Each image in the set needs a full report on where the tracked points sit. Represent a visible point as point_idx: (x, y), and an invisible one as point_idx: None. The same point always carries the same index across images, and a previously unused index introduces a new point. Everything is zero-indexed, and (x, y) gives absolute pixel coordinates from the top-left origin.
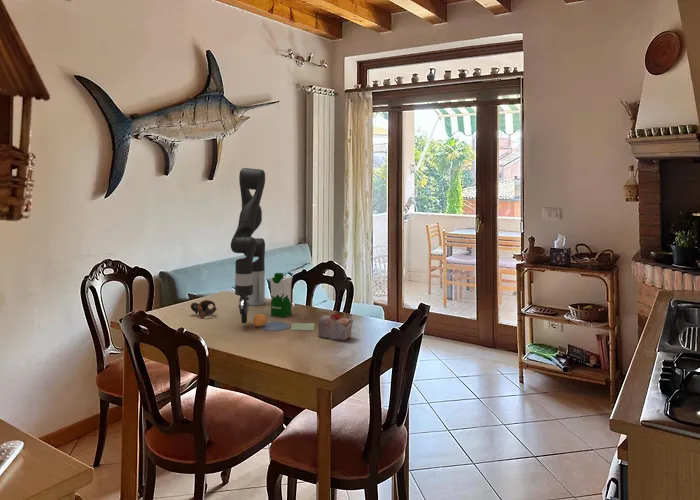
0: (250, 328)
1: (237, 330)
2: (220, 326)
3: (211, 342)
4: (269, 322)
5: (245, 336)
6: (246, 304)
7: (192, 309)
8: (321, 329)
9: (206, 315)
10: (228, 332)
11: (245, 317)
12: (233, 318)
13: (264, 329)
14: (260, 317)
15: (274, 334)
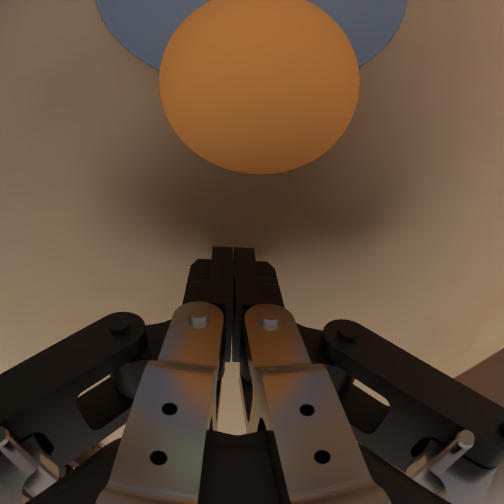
0: (311, 185)
1: (354, 290)
2: (232, 396)
3: (487, 355)
4: (107, 11)
5: (490, 217)
6: (357, 476)
7: None
8: None
9: (90, 449)
10: (384, 335)
11: (272, 296)
12: (35, 341)
13: (378, 47)
14: (353, 65)
15: (476, 9)
